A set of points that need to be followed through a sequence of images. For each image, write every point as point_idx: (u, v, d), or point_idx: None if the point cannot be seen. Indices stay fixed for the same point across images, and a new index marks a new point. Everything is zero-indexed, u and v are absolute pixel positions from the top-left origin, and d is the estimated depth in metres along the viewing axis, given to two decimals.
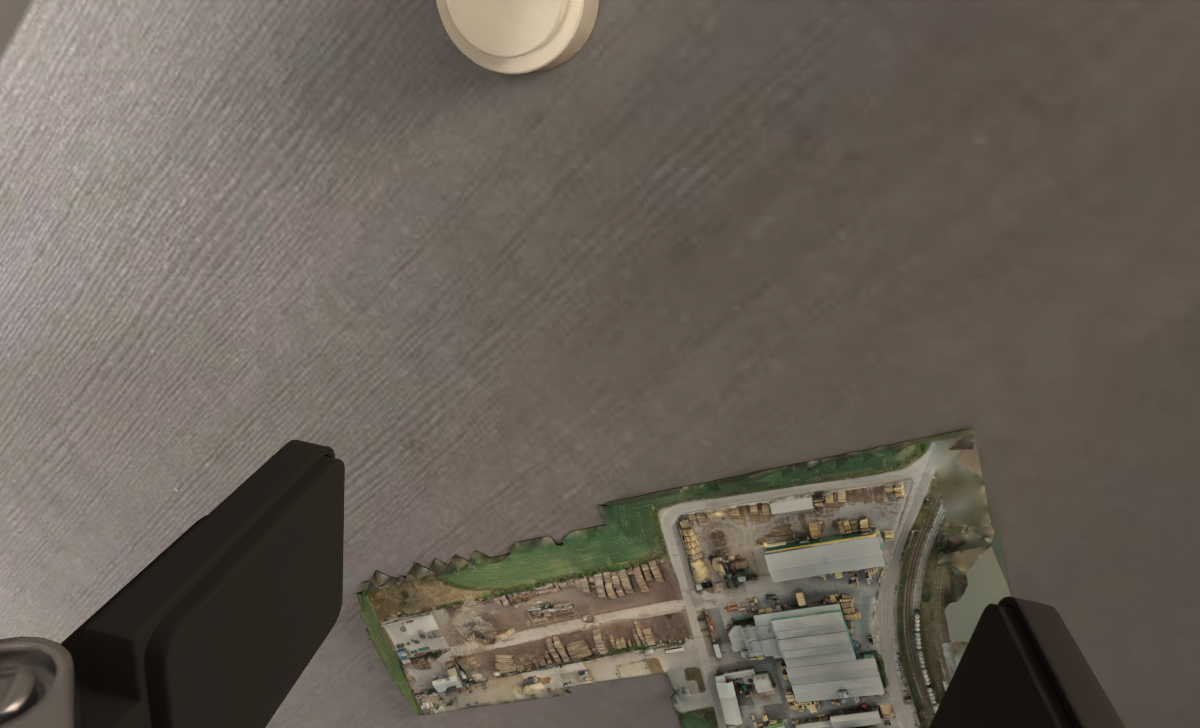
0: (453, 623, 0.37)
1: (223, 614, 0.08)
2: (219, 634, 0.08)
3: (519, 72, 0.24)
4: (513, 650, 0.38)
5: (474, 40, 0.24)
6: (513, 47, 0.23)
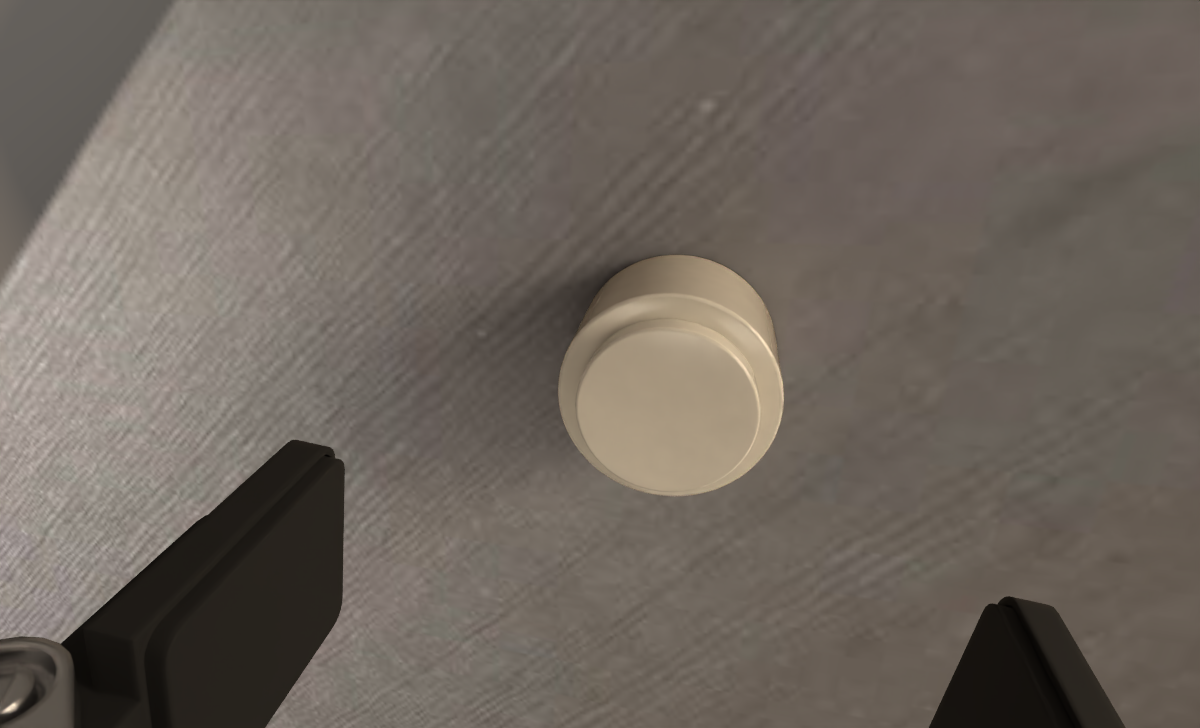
0: None
1: (223, 614, 0.08)
2: (219, 634, 0.08)
3: (675, 495, 0.17)
4: None
5: (617, 470, 0.16)
6: (675, 482, 0.16)
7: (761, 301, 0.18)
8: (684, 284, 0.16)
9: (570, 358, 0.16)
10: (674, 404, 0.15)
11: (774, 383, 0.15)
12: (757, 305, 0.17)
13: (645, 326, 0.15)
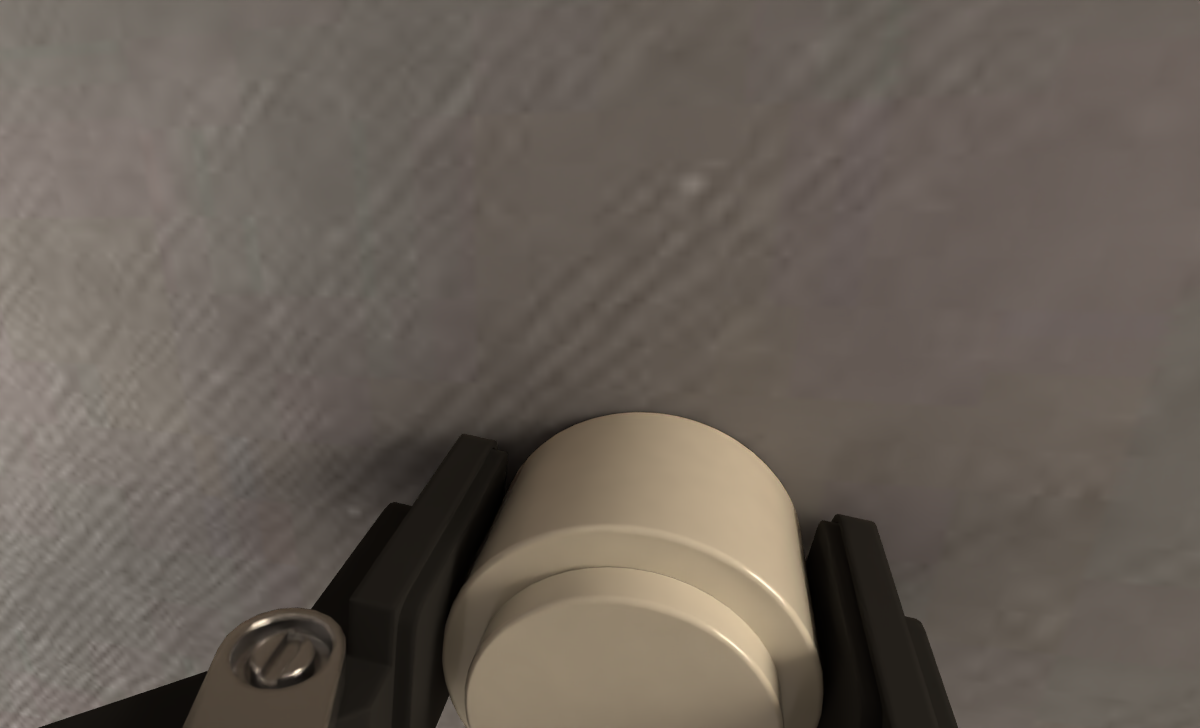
0: None
1: (443, 590, 0.09)
2: (440, 608, 0.09)
3: None
4: None
5: None
6: None
7: (780, 488, 0.11)
8: (651, 496, 0.09)
9: (457, 616, 0.09)
10: (633, 715, 0.09)
11: (807, 673, 0.09)
12: (775, 506, 0.10)
13: (580, 590, 0.08)
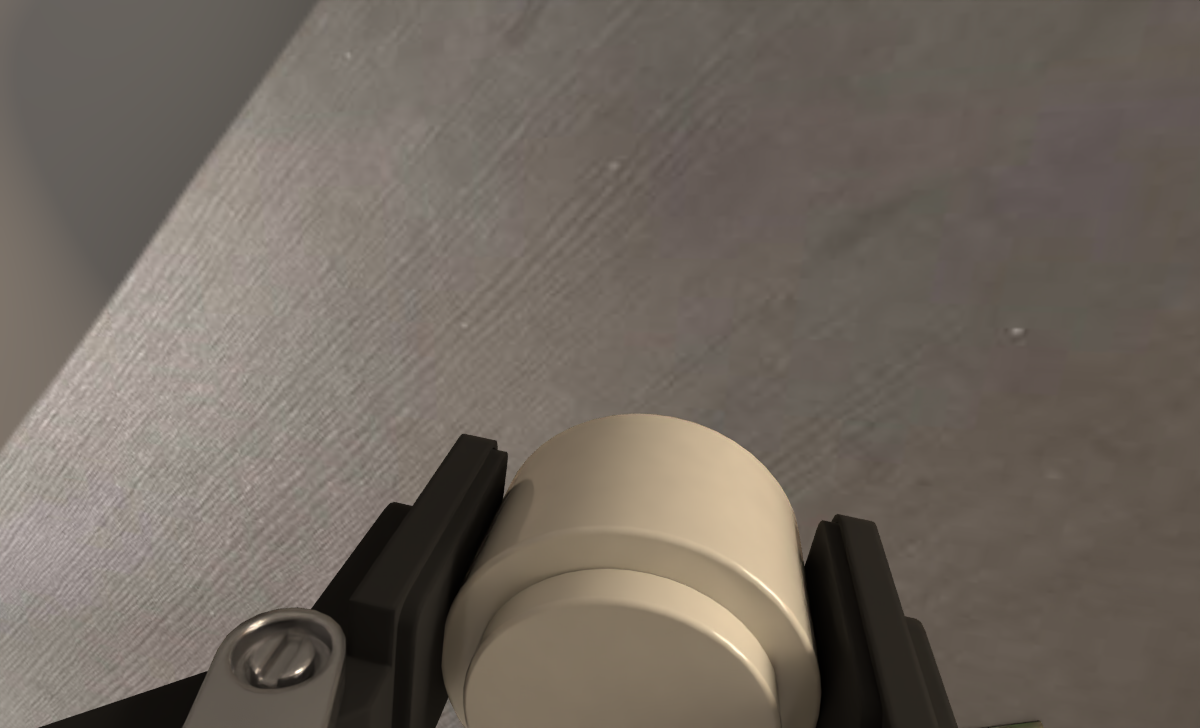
0: None
1: (443, 590, 0.09)
2: (439, 608, 0.09)
3: None
4: None
5: None
6: None
7: (778, 489, 0.11)
8: (649, 497, 0.09)
9: (456, 617, 0.09)
10: (631, 716, 0.09)
11: (805, 674, 0.09)
12: (773, 508, 0.10)
13: (578, 590, 0.08)
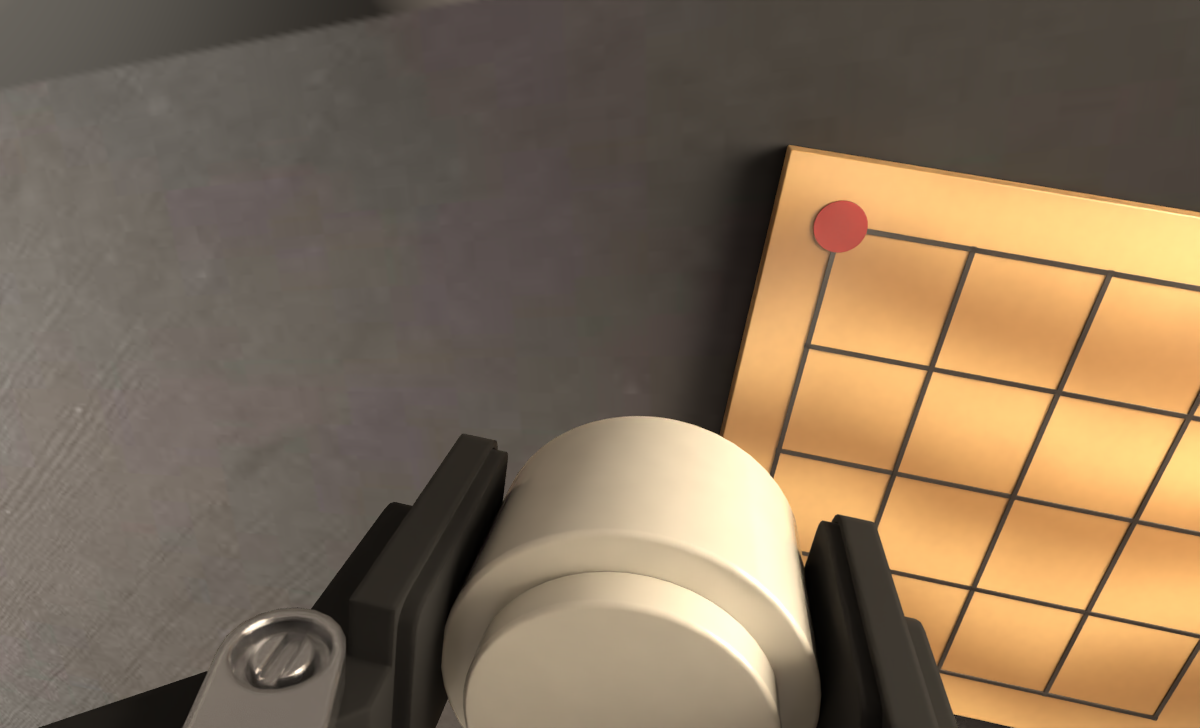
0: None
1: (443, 590, 0.09)
2: (440, 608, 0.09)
3: None
4: None
5: None
6: None
7: (778, 492, 0.11)
8: (650, 499, 0.09)
9: (456, 620, 0.09)
10: (631, 719, 0.09)
11: (804, 677, 0.09)
12: (773, 510, 0.10)
13: (577, 593, 0.08)
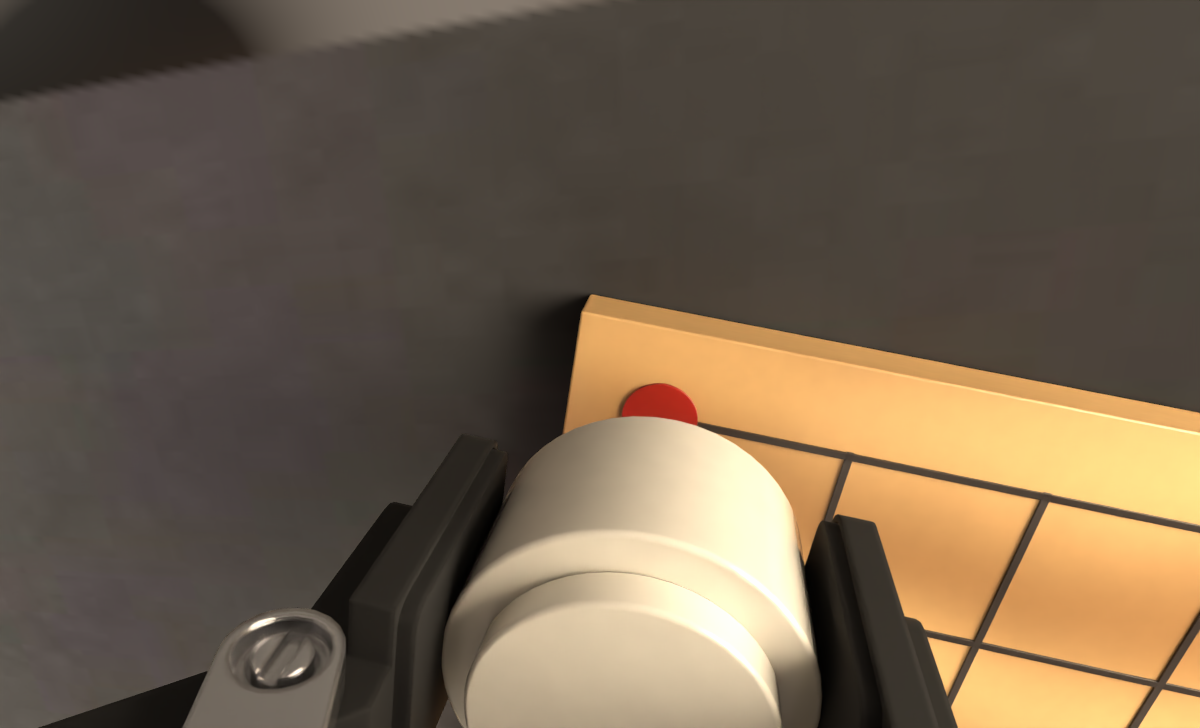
0: None
1: (443, 590, 0.09)
2: (439, 608, 0.09)
3: None
4: None
5: None
6: None
7: (779, 492, 0.11)
8: (651, 500, 0.09)
9: (456, 621, 0.09)
10: (631, 720, 0.09)
11: (805, 678, 0.09)
12: (774, 511, 0.10)
13: (578, 593, 0.08)
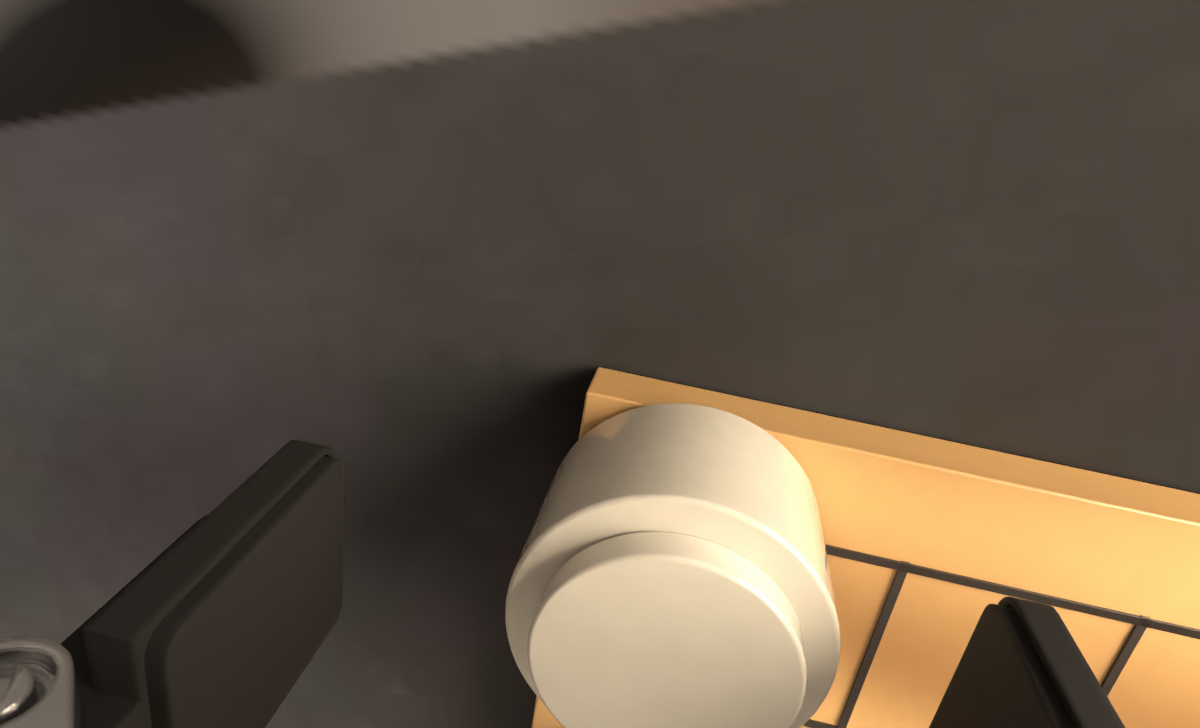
0: None
1: (223, 614, 0.08)
2: (219, 634, 0.08)
3: None
4: None
5: None
6: None
7: (801, 471, 0.12)
8: (691, 472, 0.10)
9: (521, 576, 0.11)
10: (675, 661, 0.10)
11: (827, 627, 0.10)
12: (797, 486, 0.12)
13: (630, 549, 0.10)
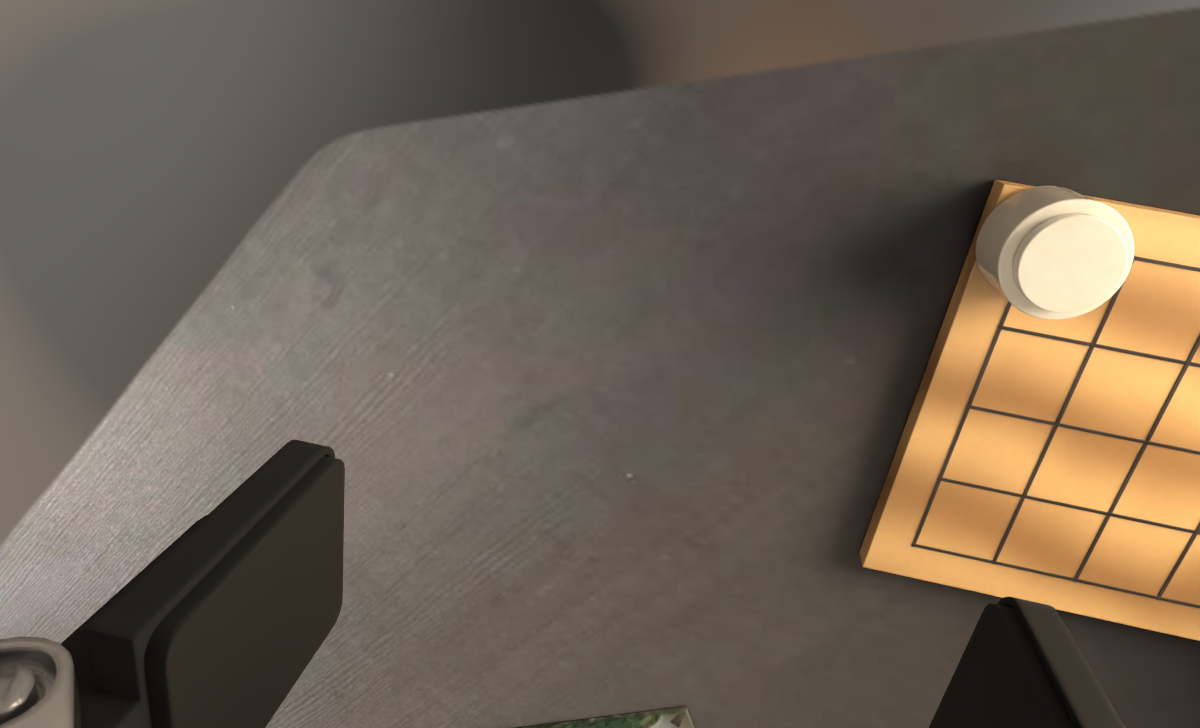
0: None
1: (223, 614, 0.08)
2: (219, 634, 0.08)
3: (1058, 319, 0.30)
4: None
5: (1036, 299, 0.29)
6: (1069, 306, 0.29)
7: None
8: (1078, 195, 0.29)
9: (1012, 237, 0.29)
10: (1078, 259, 0.28)
11: (1130, 248, 0.29)
12: None
13: (1068, 215, 0.28)
